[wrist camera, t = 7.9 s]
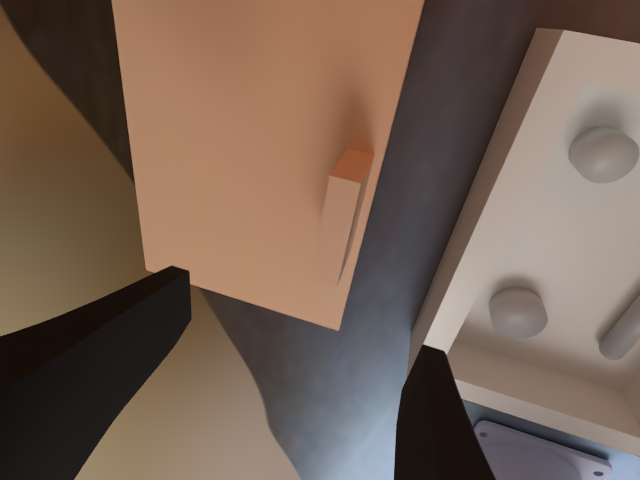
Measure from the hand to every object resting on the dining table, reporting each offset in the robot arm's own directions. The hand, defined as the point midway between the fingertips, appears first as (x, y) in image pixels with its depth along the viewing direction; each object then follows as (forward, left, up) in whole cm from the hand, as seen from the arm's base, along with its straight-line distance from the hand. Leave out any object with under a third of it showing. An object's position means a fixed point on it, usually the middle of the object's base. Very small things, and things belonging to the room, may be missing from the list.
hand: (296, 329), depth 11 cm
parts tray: (+1, -11, -9) cm, 14 cm away
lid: (+1, +6, -9) cm, 11 cm away
